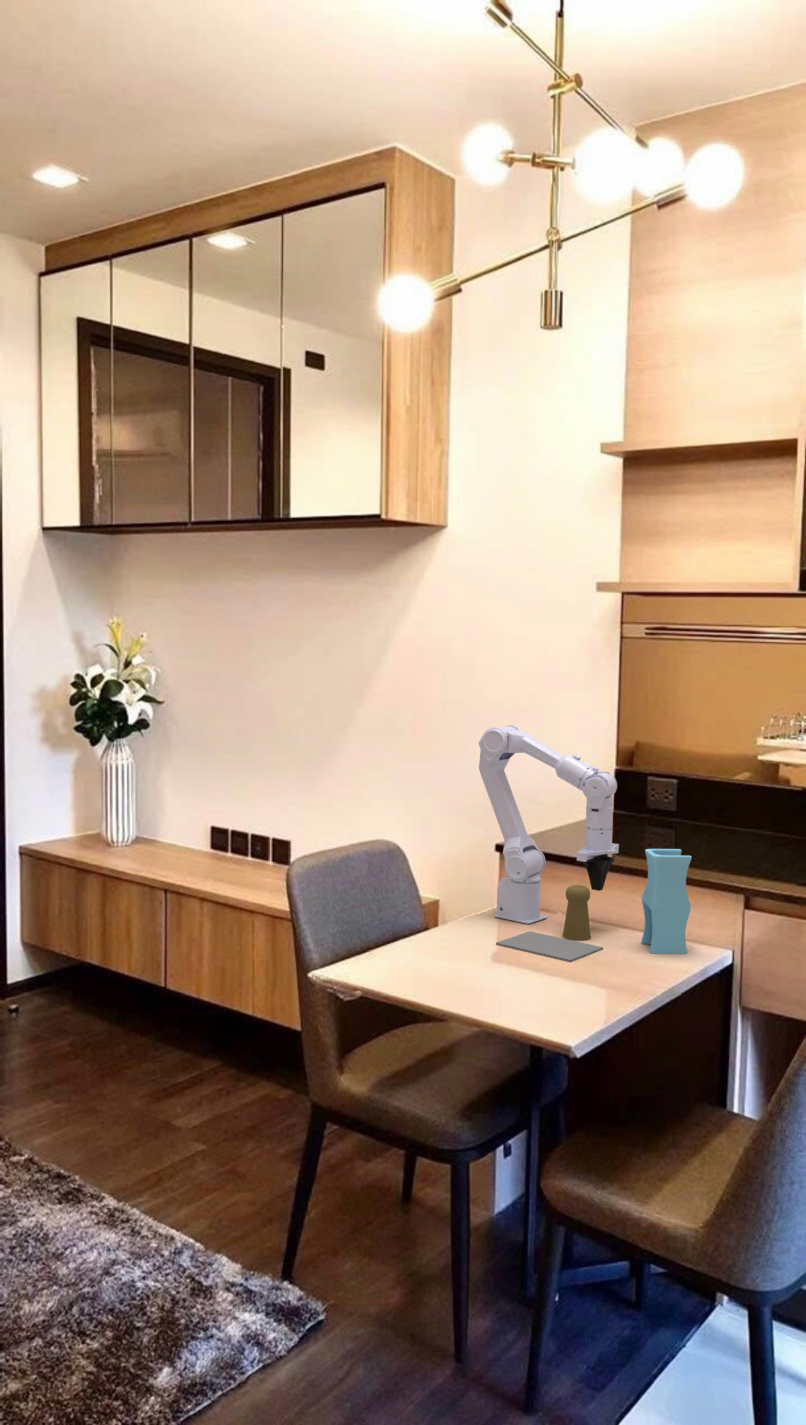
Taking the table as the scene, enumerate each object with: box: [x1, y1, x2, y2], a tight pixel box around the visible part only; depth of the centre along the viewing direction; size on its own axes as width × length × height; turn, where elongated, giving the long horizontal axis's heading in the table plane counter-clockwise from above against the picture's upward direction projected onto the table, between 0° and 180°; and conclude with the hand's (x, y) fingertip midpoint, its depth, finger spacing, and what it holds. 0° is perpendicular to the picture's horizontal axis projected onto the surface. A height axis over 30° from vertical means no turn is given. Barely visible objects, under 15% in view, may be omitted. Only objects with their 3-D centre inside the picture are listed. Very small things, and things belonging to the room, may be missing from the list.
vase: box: [640, 848, 692, 955], centre depth 224 cm, size 8×8×20 cm
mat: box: [495, 930, 604, 963], centre depth 224 cm, size 18×12×1 cm
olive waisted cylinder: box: [562, 884, 592, 942], centre depth 232 cm, size 6×6×11 cm
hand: (597, 889), depth 238 cm, fingers closed
